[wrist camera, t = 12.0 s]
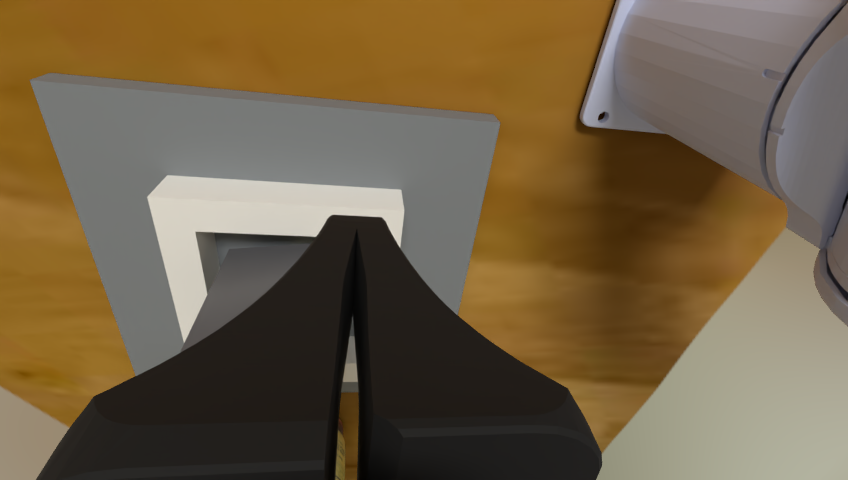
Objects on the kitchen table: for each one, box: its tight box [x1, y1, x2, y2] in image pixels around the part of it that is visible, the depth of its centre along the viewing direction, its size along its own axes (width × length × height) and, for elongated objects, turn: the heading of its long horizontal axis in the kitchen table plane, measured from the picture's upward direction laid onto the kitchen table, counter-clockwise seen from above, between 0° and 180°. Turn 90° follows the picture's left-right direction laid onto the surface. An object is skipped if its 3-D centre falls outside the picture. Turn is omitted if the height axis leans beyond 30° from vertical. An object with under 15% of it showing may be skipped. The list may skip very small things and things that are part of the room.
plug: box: [180, 244, 310, 352], centre depth 19 cm, size 4×5×7 cm
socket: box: [30, 73, 500, 392], centre depth 21 cm, size 18×18×3 cm
